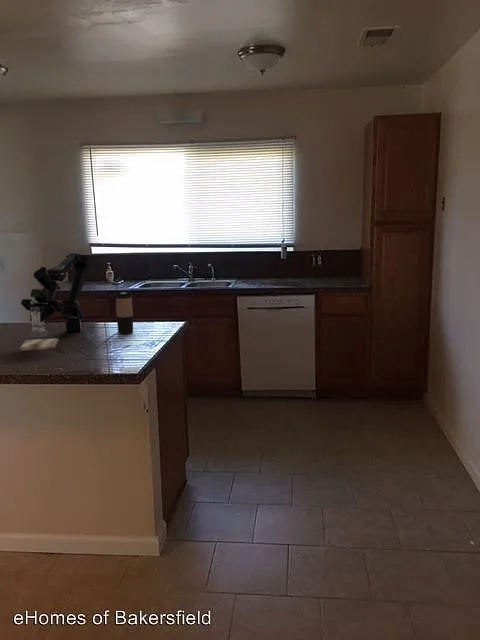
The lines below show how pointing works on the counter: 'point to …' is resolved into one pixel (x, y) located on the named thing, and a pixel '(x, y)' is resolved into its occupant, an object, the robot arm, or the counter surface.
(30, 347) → the plate
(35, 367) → the counter surface
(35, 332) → the two-prong grey stand
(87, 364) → the counter surface
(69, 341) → the counter surface
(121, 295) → the travel mug
